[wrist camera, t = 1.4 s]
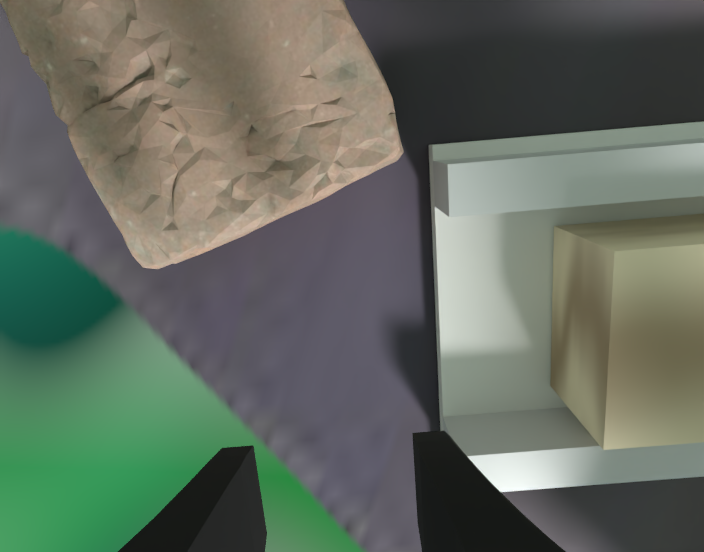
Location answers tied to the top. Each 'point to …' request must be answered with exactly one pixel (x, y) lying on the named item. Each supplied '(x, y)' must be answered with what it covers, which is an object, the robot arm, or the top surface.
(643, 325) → the block
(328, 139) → the brick
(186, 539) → the robot arm
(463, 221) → the chute
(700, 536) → the top surface
